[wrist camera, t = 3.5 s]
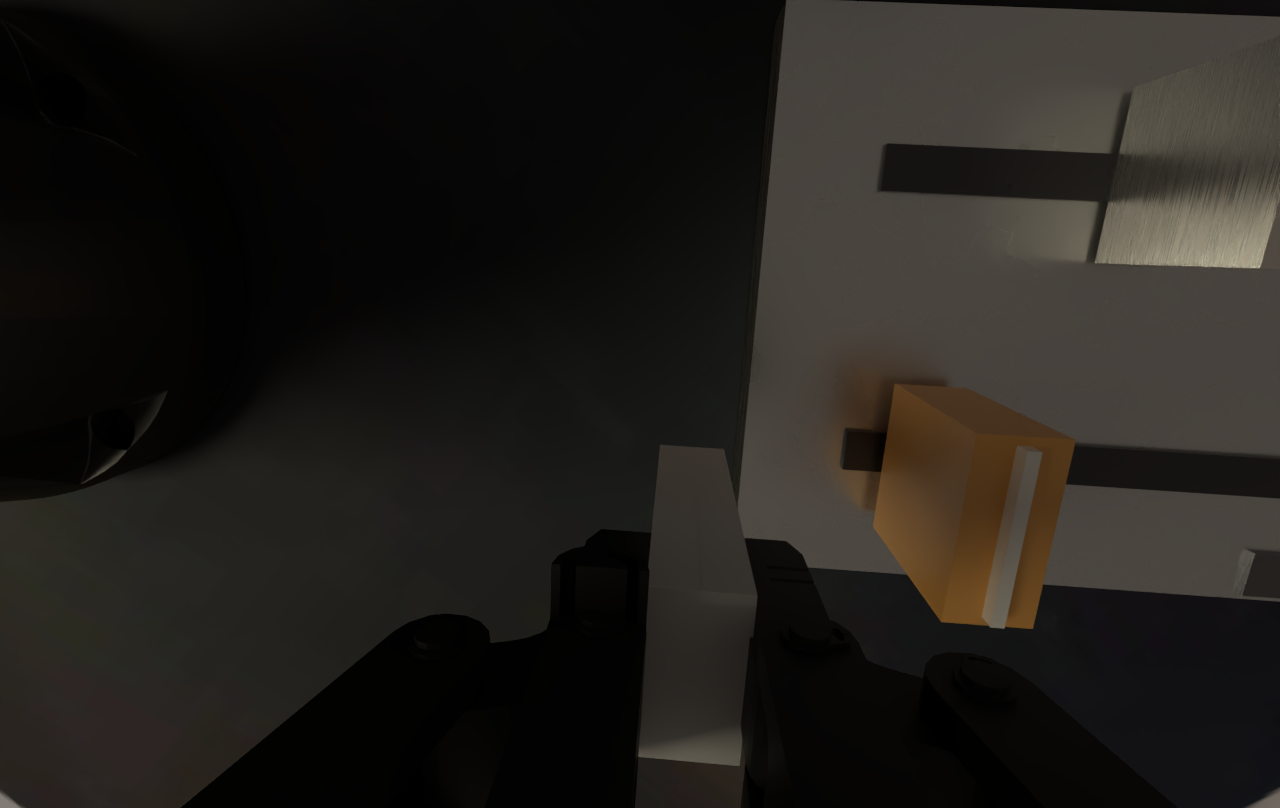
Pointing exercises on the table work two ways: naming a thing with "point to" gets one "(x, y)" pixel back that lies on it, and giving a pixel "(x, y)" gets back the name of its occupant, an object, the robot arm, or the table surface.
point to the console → (1024, 275)
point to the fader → (971, 502)
